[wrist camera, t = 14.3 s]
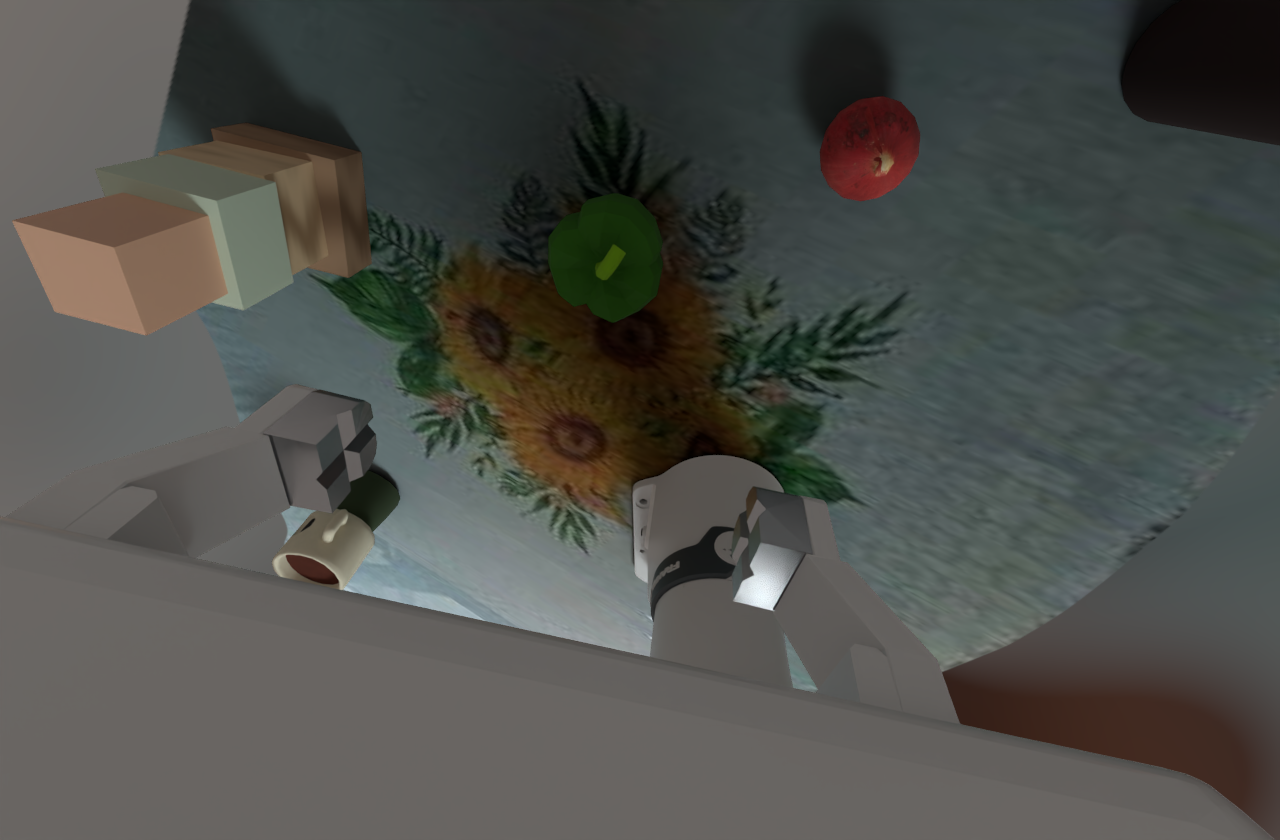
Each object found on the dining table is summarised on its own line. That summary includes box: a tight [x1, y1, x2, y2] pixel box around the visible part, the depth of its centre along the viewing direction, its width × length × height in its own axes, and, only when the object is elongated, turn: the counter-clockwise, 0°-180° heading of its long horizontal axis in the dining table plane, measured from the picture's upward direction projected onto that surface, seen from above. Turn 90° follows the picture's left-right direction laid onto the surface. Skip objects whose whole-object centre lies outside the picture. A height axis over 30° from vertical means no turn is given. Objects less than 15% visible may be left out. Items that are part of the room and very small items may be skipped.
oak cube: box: [158, 141, 328, 275], centre depth 38 cm, size 7×7×5 cm
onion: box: [820, 96, 920, 201], centre depth 33 cm, size 6×6×8 cm
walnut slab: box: [211, 123, 372, 278], centre depth 42 cm, size 9×9×4 cm
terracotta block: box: [12, 193, 228, 335], centre depth 30 cm, size 5×5×6 cm
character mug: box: [272, 470, 400, 590], centre depth 58 cm, size 11×7×13 cm, turn 150°
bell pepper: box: [548, 193, 663, 323], centre depth 38 cm, size 8×8×10 cm
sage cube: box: [95, 154, 293, 310], centre depth 34 cm, size 7×7×5 cm
